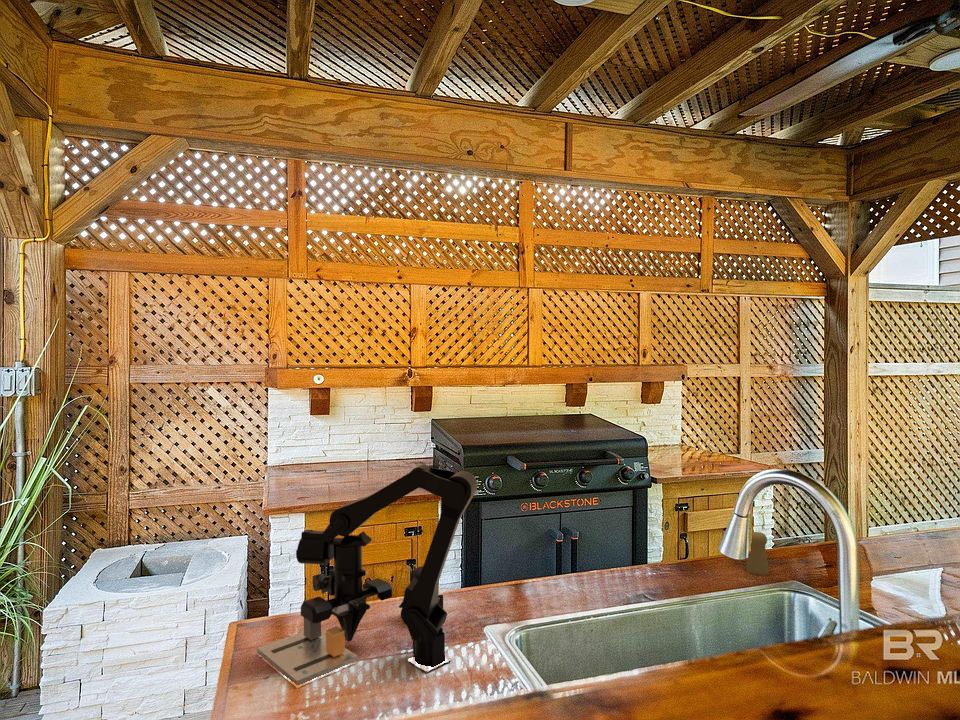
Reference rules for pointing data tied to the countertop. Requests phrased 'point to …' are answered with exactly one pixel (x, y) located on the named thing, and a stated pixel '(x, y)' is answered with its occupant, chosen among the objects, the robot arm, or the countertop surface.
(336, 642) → the orange fader
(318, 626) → the charcoal fader
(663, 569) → the countertop surface
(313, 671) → the console
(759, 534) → the brown tall tapered piece
